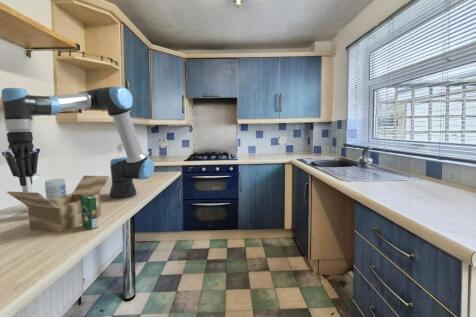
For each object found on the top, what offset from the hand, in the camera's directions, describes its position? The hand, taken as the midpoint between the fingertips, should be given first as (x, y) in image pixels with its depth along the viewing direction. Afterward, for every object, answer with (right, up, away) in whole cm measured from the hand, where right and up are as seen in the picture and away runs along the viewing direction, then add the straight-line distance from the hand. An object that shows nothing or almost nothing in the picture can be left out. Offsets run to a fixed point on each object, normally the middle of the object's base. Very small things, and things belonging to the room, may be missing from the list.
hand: (27, 193), depth 109 cm
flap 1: (+1, -2, +2) cm, 3 cm away
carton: (+5, -15, +18) cm, 24 cm away
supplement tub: (-15, -13, +42) cm, 46 cm away
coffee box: (+18, -15, +10) cm, 26 cm away
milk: (-15, -14, +27) cm, 35 cm away
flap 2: (+8, +1, +30) cm, 32 cm away
